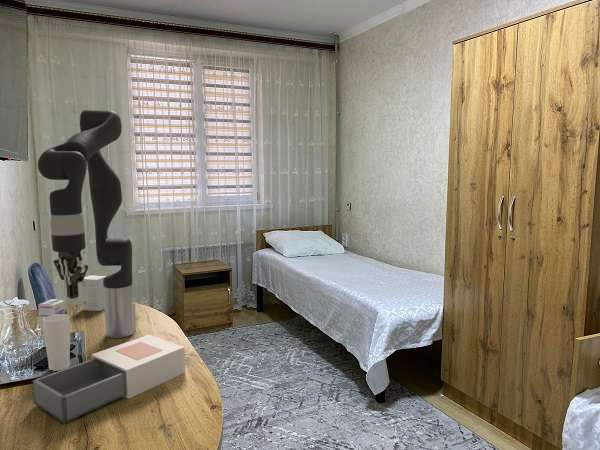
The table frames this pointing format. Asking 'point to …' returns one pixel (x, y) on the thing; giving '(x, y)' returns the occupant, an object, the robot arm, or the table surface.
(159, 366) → the mailer sleeve
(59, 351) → the white cup
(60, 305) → the syrup box
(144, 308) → the table surface
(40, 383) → the tray
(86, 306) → the small box
